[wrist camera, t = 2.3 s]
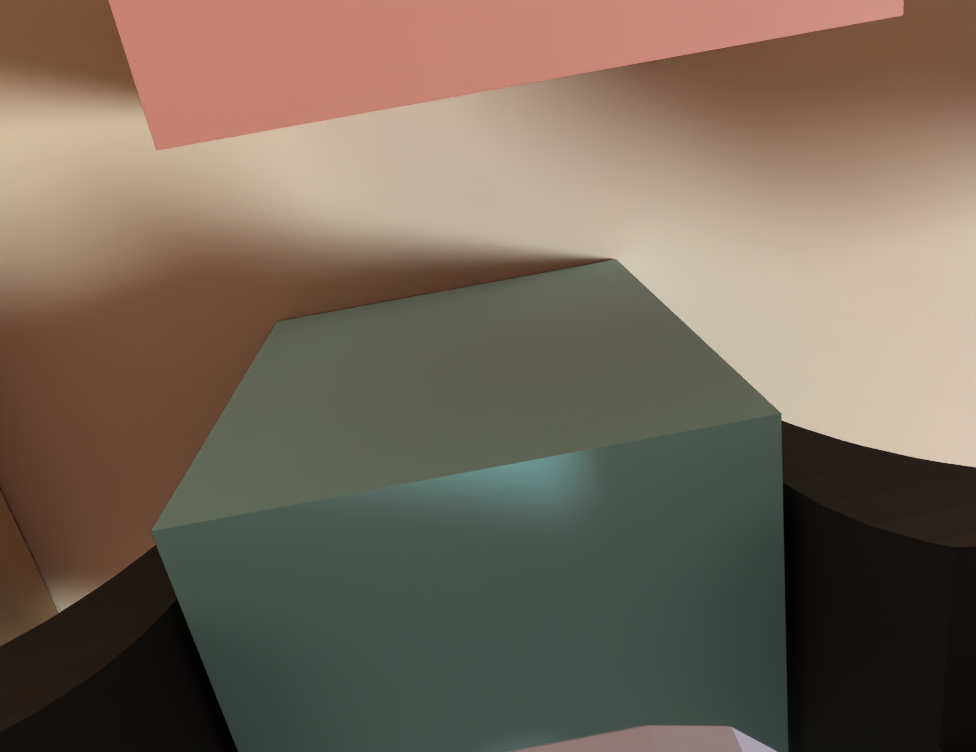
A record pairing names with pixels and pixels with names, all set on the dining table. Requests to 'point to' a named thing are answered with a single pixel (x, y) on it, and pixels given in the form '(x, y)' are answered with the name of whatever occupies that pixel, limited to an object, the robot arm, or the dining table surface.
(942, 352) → the dining table surface
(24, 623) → the walnut base plate
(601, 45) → the brick block
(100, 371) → the dining table surface
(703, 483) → the teal block
